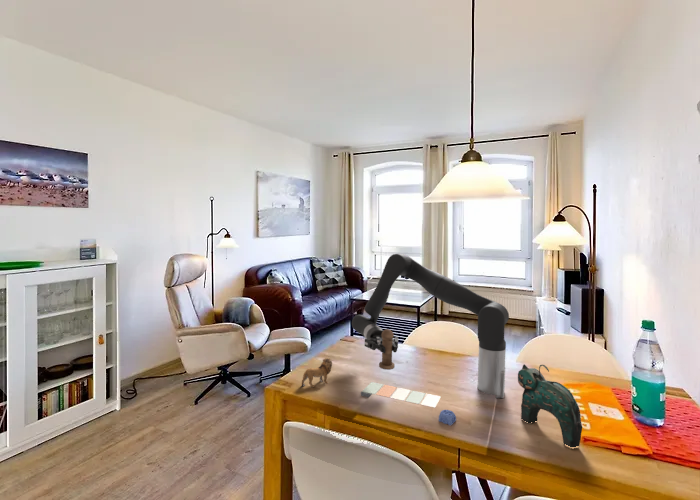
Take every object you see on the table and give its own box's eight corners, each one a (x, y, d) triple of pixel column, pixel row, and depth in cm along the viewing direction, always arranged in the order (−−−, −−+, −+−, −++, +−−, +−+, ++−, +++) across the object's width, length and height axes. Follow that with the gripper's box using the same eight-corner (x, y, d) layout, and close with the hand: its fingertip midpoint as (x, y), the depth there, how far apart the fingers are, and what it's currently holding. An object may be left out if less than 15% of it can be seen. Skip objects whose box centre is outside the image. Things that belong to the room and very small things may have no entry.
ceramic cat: (514, 417, 119) (516, 357, 118) (529, 414, 122) (532, 354, 120) (569, 453, 101) (573, 381, 100) (586, 448, 103) (590, 378, 102)
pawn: (396, 365, 136) (397, 328, 135) (391, 370, 131) (392, 332, 130) (382, 362, 138) (383, 326, 137) (376, 367, 133) (377, 330, 132)
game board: (441, 399, 131) (441, 396, 131) (435, 412, 122) (435, 408, 122) (371, 384, 143) (371, 381, 143) (360, 395, 134) (360, 391, 134)
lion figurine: (326, 376, 150) (326, 355, 150) (335, 380, 146) (335, 358, 146) (296, 387, 140) (296, 364, 140) (305, 391, 136) (305, 368, 136)
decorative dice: (444, 420, 117) (444, 408, 117) (456, 424, 115) (456, 412, 115) (438, 425, 114) (438, 413, 114) (450, 430, 112) (450, 417, 111)
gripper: (358, 327, 146) (371, 341, 129) (392, 325, 149) (409, 338, 132) (357, 345, 146) (370, 362, 129) (391, 343, 150) (408, 359, 133)
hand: (390, 350), depth 131 cm, fingers closed on pawn, 3 cm apart
